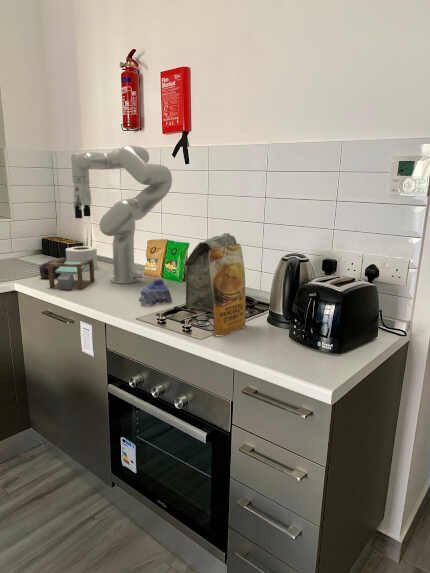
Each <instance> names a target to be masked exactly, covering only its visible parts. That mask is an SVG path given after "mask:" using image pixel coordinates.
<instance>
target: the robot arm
mask: <svg viewBox="0 0 430 573" xmlns="http://www.w3.org/2000/svg"><path fill="white" fill-rule="evenodd" d="M70 161H71V177H72V184H73V200H72V202H73V207H74V217H75V219H83V217H91V215H92V214H91V204H92V193H91V192H92V191H91V186H90V170H99V171H100V170H101V171H103V170H115V169H117V170H119V169H124V170H126V171H127V172H128V173H129V174H130V176H131V177H133V178H134V180H136V181H137V182H138V183H139V184H141V185H144V186H146V187H144V188H143V189H142V190H141V191H140V192H139V193H138V194H137V195H136V196H135V197H133V198H125V199H120V200H119V201H117V202H115V203H114V204H113V205H112V207H111V208H110V209H109V210H107V211H106V212H105V214H103V215H102V217H101V219H100V221H99V230H100V232H101V233H102V234H103V235H105V236H107V237H113V239H112V257H113V258H112V260H113V276H112V277H111V278H110V282H111V283H113V284H119V285H120V284H123V285H125V284H133V283H136V282H138V281H139V279H143V278H144V274H143V273H138V272H137V270H135V247H134V246H135V245H134V243H135V242H134V240H135V239H134V238H135V231H136V221H140V220H142V219H143V218H144V217H146V215H148V214H149V212H151V211H152V210H153V209H154V208H155V207H156V206H157V205H158V204H159V203H160V202H161V201H162V200H163V199H164V198H165V197H166V196H167V195H168V194H169V192H170V190H171V188H172V184H173V177H172V176H173V175H172V172H171V170H170V168H168V167H167V166H165V165H163V164H158V163H148V162H149V161H150V154H149V151H147V149H145V148H144V147H142V146H137V145H124V146H121V147H120V148H119V147H118V148H114V149H112V150H111V151H110V152H95V151H94V152H92V151H91V152H90V151H89V152H88V151H87V152H86V151H85V152H73V153H71V155H70ZM82 206H83V209H82Z"/></svg>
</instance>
